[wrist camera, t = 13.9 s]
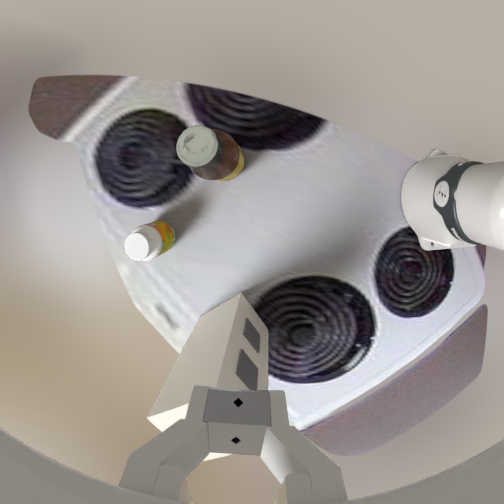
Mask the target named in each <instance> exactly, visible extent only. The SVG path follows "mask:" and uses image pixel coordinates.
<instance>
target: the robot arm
mask: <svg viewBox="0 0 504 504" xmlns="http://www.w3.org/2000/svg"><path fill="white" fill-rule="evenodd" d="M401 202H402V208H403V212H404V215H405V218H406V220H407V222H408V224H409V225H410V227H411V228H412V229H413V230H414V231H415V233H416V234H417V236H418V239H419V242H420V245H421V247H422V249H424V250H439V249H450V248H460V247H471V246H476V245H482V244H484V245H487V246H490V247H493V248H496V249H499V250H502V251H504V162H497V163H489V164H484V163H481V162H475V161H468V160H466V159H462V158H461V157H460V156H459V155H447V154H446V153H444V152H442V151H441V150H439V149H433V150H432V151H431V152H430V153H429V155H428V156H427V158H425V159H424V160H422V161H420V162H418V163H416V164H415V165H413V166H412V167H411V169H410V170H409V171H408V173H407V174H406V176H405V179H404V182H403V185H402V192H401ZM431 242H433V243H432V245H431ZM209 452H211V453H225V454H240V455H256V456H260V457H261V458H262V459H263V461H264V462H265V464H266V465H267V466H268V468H269V469H270V470H271V471H272V473H273V474H274V476H275V477H276V478H277V479H278V481H279V482H280V483H281V484H282V486H281V488H280V490H279V492H278V494H277V496H276V499H275V501H274V503H273V504H504V439H503V440H501V441H500V442H498V443H497V444H495V445H493V446H492V447H490V448H489V449H486V450H485V451H483V452H481V453H479V454H478V455H476V456H474V457H472V458H470V459H468V460H466V461H464V462H462V463H460V464H458V465H456V466H454V467H452V468H450V469H447V470H445V471H443V472H441V473H438V474H436V475H433V476H431V477H428V478H426V479H423V480H420V481H417V482H415V483H412V484H409V485H406V486H403V487H400V488H397V489H393V490H390V491H386V492H382V493H379V494H375V495H371V496H366V497H362V498H357V499H353V500H348V499H347V494H346V491H345V486H344V482H343V478H342V474H341V469H340V467H338V466H337V465H336V464H335V463H334V462H333V461H331V460H330V459H329V458H328V457H327V456H326V455H325V454H323V453H322V452H321V451H320V450H319V449H318V448H317V447H315V445H313V444H312V443H311V442H310V441H309V440H308V439H307V438H306V437H305V436H304V435H303V434H302V433H300V432H299V431H298V430H297V429H296V428H295V427H294V426H289V420H288V412H287V405H286V398H285V392H284V391H282V390H269V391H268V390H244V389H229V388H220V387H212V386H210V387H209V386H202V385H194V386H193V389H192V393H191V397H190V401H189V405H188V409H187V413H186V417H185V419H179V420H178V421H177V422H175V423H174V424H173V425H171V426H170V427H168V428H167V429H166V430H164V431H163V432H162V433H160V434H159V435H157V436H156V437H154V438H153V439H152V440H150V441H149V442H147V443H146V444H144V445H143V446H141V447H140V448H138V449H137V450H135V451H134V452H132V453H131V454H130V456H129V459H128V461H127V464H126V466H125V469H124V472H123V475H122V477H121V480H120V483H119V486H117V485H114V484H111V483H108V482H105V481H103V480H100V479H97V478H94V477H92V476H89V475H87V474H84V473H82V472H80V471H77V470H75V469H73V468H71V467H68V466H66V465H64V464H62V463H60V462H58V461H56V460H54V459H52V458H50V457H48V456H46V455H44V454H43V453H41V452H39V451H37V450H35V449H34V448H32V447H30V446H28V445H27V444H25V443H23V442H22V441H20V440H19V439H17V438H16V437H14V436H12V435H11V434H9V433H8V432H6V431H5V430H3V429H2V428H1V427H0V504H194V503H191V495H190V492H189V489H188V485H187V481H186V477H187V476H188V475H189V474H190V473H191V472H192V471H193V470H194V469H195V468H196V467H197V466H198V465H199V464H200V463H201V462H202V461H203V460H204V459H205V458H206V457H207V456H208V455H209Z"/></svg>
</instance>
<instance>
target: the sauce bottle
mask: <svg viewBox="0 0 504 504" xmlns="http://www.w3.org/2000/svg"><path fill="white" fill-rule="evenodd" d="M176 151H177V155H178V157H179V158H180V160H181V161H182V162H183V163H184V164H186V165H188V166H189V167H190V169H191V170H192V171H193V172H194V173H195V174H196V175H197V176H199V177H201V178H204V179H207V180H217V181H228V180H231V179H234V178H235V177H237V176H238V175H239V174H240V172H241V171H242V170H243V166H244V156H243V153H242V151H241V149H240V147H239V146H238V145H237V143H236V142H235V140H234V139H233V138H232V137H231V136H229V135H228V134H227V133H225V132H224V131H221V130H215V129H212V130H211V129H210V128H208V127H206V126H202V125H195V126H191V127H189V128H188V129H186V130H184V131H183V132H182V134H181V135H180V137H179V139H178V141H177V149H176Z"/></svg>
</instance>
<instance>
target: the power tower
mask: <svg viewBox="0 0 504 504" xmlns="http://www.w3.org/2000/svg"><path fill="white" fill-rule="evenodd" d="M194 385H202V386H209V387H210V386H212V387H220V388H229V389H244V390H268V328H267V327H266V326H265V324H264V323H263V322H262V320H261V319H260V317H259V316H258V315H257V313H256V312H255V310H254V309H253V308H252V306H251V305H250V303H249V302H248V301H247V299H246V298H245V296H244V295H243V294H242V292H241V293H239V294H237V295H236V296H234V297H232V298H231V299H229V300H227V301H226V302H224V303H222V304H220V305H219V306H217V307H215V308H214V309H212V310H210V311H209V312H207V313H205V314H204V315H202V316H200V318H199V319H198V321H197V323H196V325H195V327H194V329H193V331H192V332H191V334H190V336H189V338H188V340H187V342H186V344H185V346H184V347H183V349H182V351H181V353H180V355H179V357H178V359H177V361H176V363H175V365H174V367H173V368H172V370H171V372H170V374H169V376H168V378H167V380H166V382H165V384H164V385H163V387H162V389H161V391H160V393H159V395H158V397H157V399H156V401H155V403H154V405H153V407H152V409H151V411H150V413H149V414H148V416H147V419H149V420H150V421H151V422H152V423H153V424H154V425H155V426H156V427H157V428H158V429H159V430H161V431H162V432H163V431H164V430H166V429H167V428H168V427H170V426H171V425H173V424H174V423H175V422H177V421H178V420H179V419H185V417H186V413H187V409H188V405H189V401H190V397H191V393H192V389H193V386H194ZM227 455H231V454H225V453H211V452H209V455H208V456H207V457H206V458H205V459H204V460H203V461H206V460H211V459H215V458H219V457H223V456H227Z"/></svg>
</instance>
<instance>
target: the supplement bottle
mask: <svg viewBox="0 0 504 504" xmlns="http://www.w3.org/2000/svg"><path fill="white" fill-rule="evenodd" d="M174 241H175V233H174V230H173V228H172V227H171V226H170V225H169V224H168V223H166V222H164V221H156V222H152V223H148V224H145V225H141V226H139V227H137V228H135V229H134V230H133V232H132V233H131V234H130V235H129V236H128V237H127V239H126V241H125V250H126V253H127V254H128V256H129V257H130V258H131V259H133V260H137V261H139V260H144V261H149V260H152V259H154V258H156V257H157V256H159V255H161V254H163V253H164V252H166V251H168V250H169V249H170V248H171V247H172V246H173V244H174Z"/></svg>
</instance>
